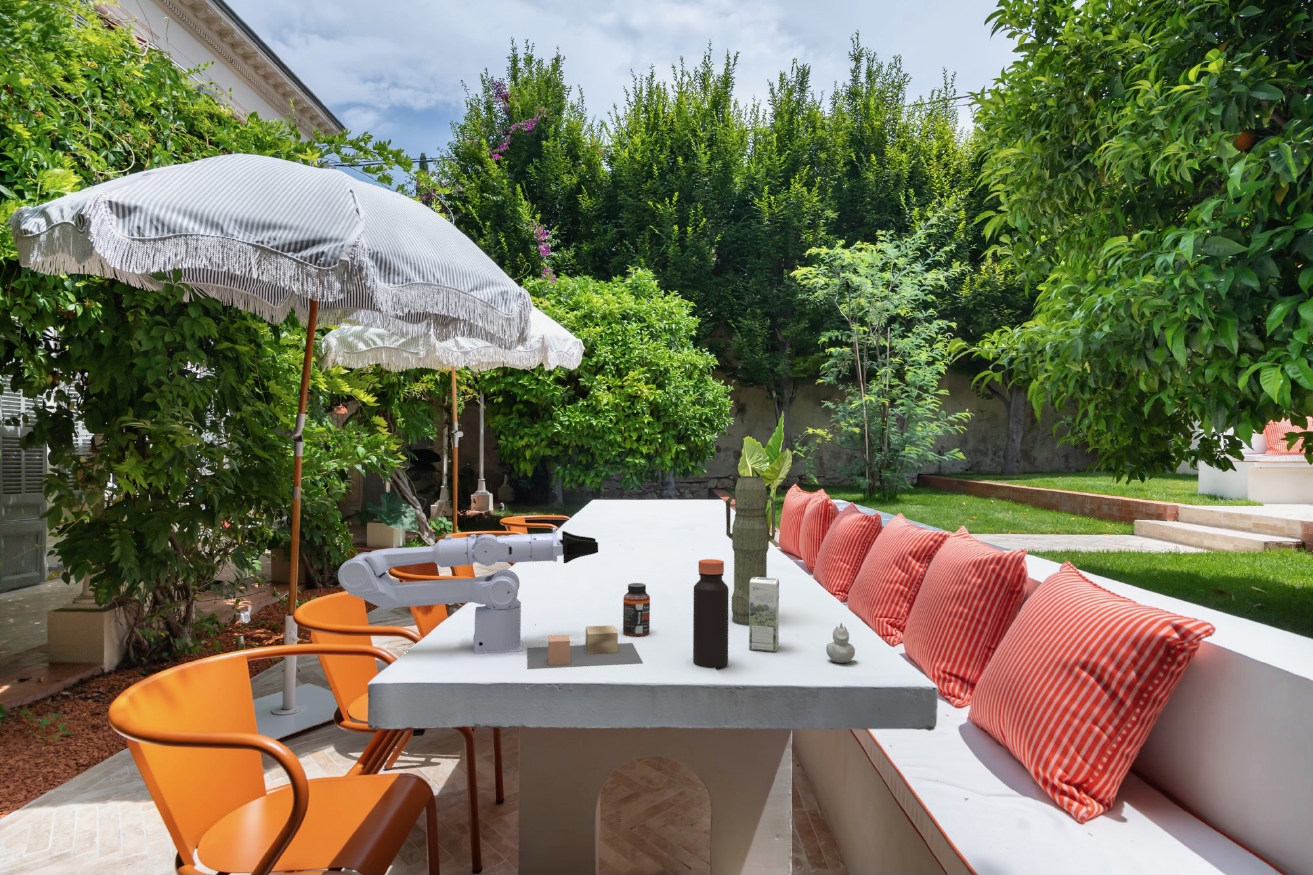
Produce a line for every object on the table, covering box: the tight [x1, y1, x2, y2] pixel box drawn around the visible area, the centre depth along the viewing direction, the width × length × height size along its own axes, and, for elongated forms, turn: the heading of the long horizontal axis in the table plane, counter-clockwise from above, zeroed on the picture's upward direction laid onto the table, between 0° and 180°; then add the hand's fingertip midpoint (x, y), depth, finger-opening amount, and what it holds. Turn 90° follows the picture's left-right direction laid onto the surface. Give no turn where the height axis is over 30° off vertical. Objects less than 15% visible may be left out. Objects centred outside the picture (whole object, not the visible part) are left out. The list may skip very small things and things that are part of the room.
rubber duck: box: [825, 621, 856, 664], centre depth 139 cm, size 5×7×8 cm
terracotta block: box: [547, 634, 571, 665], centre depth 136 cm, size 4×4×4 cm
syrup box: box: [748, 577, 780, 653], centre depth 148 cm, size 6×6×14 cm
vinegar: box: [692, 558, 729, 670], centre depth 137 cm, size 7×7×20 cm
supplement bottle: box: [622, 582, 651, 638], centre depth 157 cm, size 6×6×11 cm
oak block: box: [585, 625, 619, 654], centre depth 145 cm, size 6×6×4 cm
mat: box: [526, 642, 644, 670], centre depth 140 cm, size 22×14×1 cm, turn 100°
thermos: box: [725, 475, 776, 627], centre depth 170 cm, size 9×12×35 cm
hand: (596, 545), depth 149 cm, fingers open, 7 cm apart
